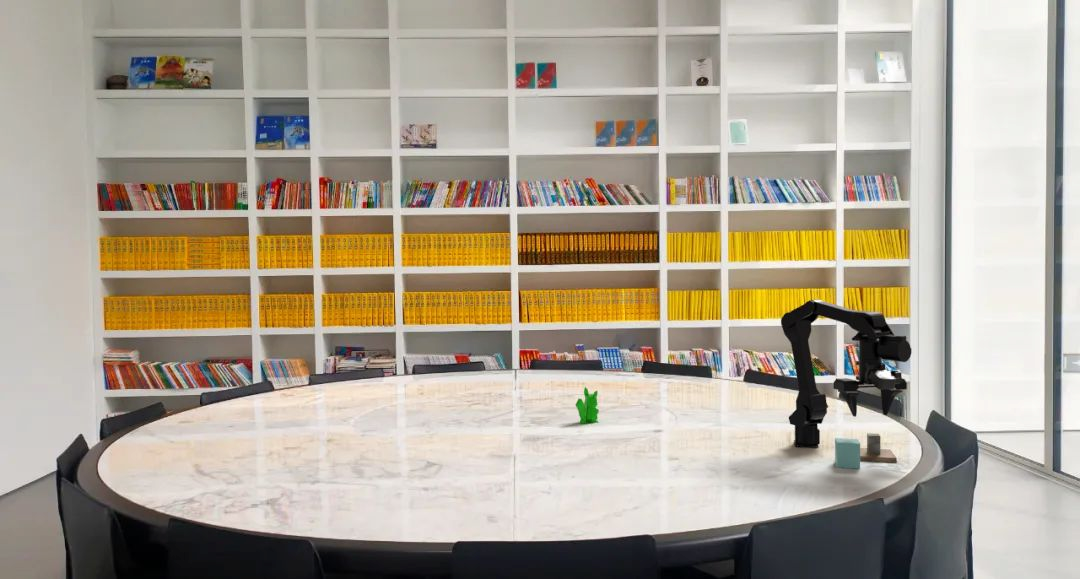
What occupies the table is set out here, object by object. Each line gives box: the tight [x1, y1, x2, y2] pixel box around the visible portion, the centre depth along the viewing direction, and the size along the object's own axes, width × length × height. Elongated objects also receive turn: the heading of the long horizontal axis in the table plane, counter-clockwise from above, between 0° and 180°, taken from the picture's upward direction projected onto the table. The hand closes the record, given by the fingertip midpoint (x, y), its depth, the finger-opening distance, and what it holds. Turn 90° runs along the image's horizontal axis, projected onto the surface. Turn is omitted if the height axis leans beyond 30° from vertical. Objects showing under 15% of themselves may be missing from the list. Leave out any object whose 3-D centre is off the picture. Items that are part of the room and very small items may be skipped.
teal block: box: [834, 437, 861, 469], centre depth 205 cm, size 6×6×6 cm
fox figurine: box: [575, 386, 600, 425], centre depth 264 cm, size 6×10×12 cm, turn 134°
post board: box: [860, 432, 898, 463], centre depth 213 cm, size 10×10×6 cm
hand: (869, 415), depth 210 cm, fingers open, 9 cm apart
